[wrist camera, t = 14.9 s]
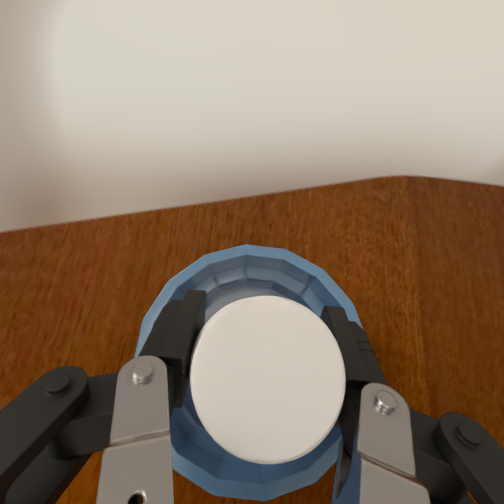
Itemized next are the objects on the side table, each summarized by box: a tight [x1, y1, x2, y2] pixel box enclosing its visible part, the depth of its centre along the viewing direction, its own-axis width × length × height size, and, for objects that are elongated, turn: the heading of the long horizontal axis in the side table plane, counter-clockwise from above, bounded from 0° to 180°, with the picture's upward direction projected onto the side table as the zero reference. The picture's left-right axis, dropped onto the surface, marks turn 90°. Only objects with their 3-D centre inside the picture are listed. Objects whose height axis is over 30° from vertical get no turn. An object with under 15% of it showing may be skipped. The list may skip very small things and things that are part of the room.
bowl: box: [134, 244, 363, 501], centre depth 16 cm, size 11×11×5 cm
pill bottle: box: [189, 296, 346, 465], centre depth 11 cm, size 5×5×8 cm
